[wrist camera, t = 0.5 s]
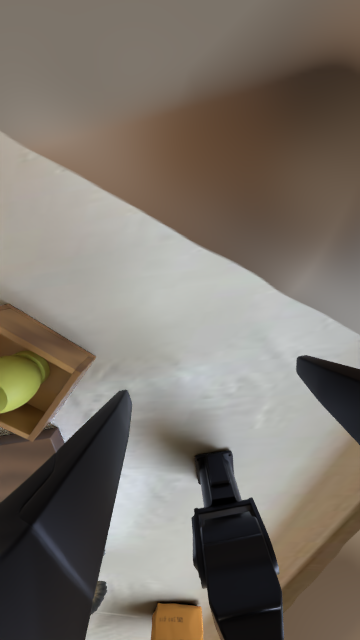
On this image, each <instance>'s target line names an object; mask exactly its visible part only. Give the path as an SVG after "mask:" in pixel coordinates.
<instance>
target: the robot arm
mask: <svg viewBox="0 0 360 640" xmlns="http://www.w3.org/2000/svg"><path fill="white" fill-rule="evenodd" d="M296 371H297V374H298V375H299V377H300V378H301V379H302V380H303V382H304V383H305V384H306V386H307V387H308V388H309V389H310V391H311V392H312V393H313V394H314V396H315V397H316V398H317V399H318V401H319V402H320V403H321V404H322V405H323V406H324V407H325V408H326V409H327V410H328V412H329V413H330V414H331V415H332V416H333V417H334V418H335V419H336V420H337V421H338V422H339V423H340V424H341V425H342V426H343V428H344V429H345V430H346V431H347V432H348V433H349V434H350V435H351V436H352V437H353V438H354V439H355V440H356V441H357V442H358V444H359V445H360V369H357V368H353V367H349V366H345V365H342V364H338V363H334V362H330V361H326V360H323V359H319V358H315V357H311V356H307V355H304V356H299V357H298V358H297V365H296ZM131 412H132V401H131V398H130V395H129V393H128V391H127V390H122V391H119V392H117V393H116V394H115V395H114V396H113V397H112V398H111V399H110V400H109V401H108V402H107V403H106V404H105V405H104V406H103V407H102V408H101V409H100V410H99V411H98V412H97V413H96V414H95V415H94V416H93V417H91V418H90V419H89V420H88V421H87V422H86V423H85V424H84V425H83V426H82V427H81V428H80V429H79V430H78V431H77V432H76V433H75V434H74V435H73V436H72V437H71V438H70V439H69V440H68V441H67V442H65V443H64V444H63V445H62V446H61V447H60V448H59V449H58V450H57V451H56V453H54V454H53V455H52V456H51V457H50V458H49V459H48V460H47V461H46V462H45V463H44V464H43V465H41V466H40V467H39V468H38V469H37V470H36V471H35V472H34V473H33V474H32V475H31V476H30V477H29V478H27V479H26V480H25V481H24V482H23V483H22V484H21V485H20V486H19V487H17V488H16V489H15V490H14V491H13V492H12V493H11V494H10V495H8V496H7V497H6V498H5V499H4V500H3V501H2V502H0V640H85V637H86V633H87V628H88V623H89V619H90V614H91V610H92V605H93V599H94V595H95V590H96V586H97V581H98V577H99V572H100V567H101V563H102V558H103V553H104V549H105V544H106V540H107V535H108V530H109V526H110V521H111V517H112V512H113V507H114V503H115V498H116V494H117V489H118V484H119V480H120V475H121V470H122V466H123V461H124V457H125V452H126V447H127V443H128V437H129V430H130V421H131ZM195 462H196V469H197V476H198V483H199V484H201V488H202V495H203V502H204V508H200V509H198V508H195V509H194V512H195V514H194V516H193V517H192V529H193V563H194V566H195V568H196V569H197V571H198V573H199V578H200V579H201V585H202V588H203V589H204V588H207V591H208V599H209V605H210V608H211V612H212V616H213V619H214V623H215V626H216V629H217V632H218V634H219V636H220V639H221V640H284V632H283V606H282V591H281V587H280V584H279V581H278V578H277V574H279V568H278V564H277V560H276V556H275V553H274V550H273V547H272V544H271V541H270V538H269V536H268V533H267V531H266V528H265V526H264V524H263V521H262V519H261V517H260V514H259V512H258V510H257V507H256V505H255V503H254V500H253V498H249V499H247V500H242V499H241V496H240V493H239V490H238V487H237V483H236V480H235V477H234V470H233V455H232V452H231V451H223V452H216V453H209V454H202V455H197V456H195Z"/></svg>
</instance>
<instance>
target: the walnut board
mask: <svg viewBox="0 0 360 640" xmlns="http://www.w3.org/2000/svg"><path fill="white" fill-rule="evenodd" d="M63 444H64V441H63V439H62V436H61V434H60V431H59V429H58V428H52V429H45V430H42V431H41V433H40V434H39V435H38V436H37V437H36V439H35V440H34V441H33V442H32V441H29V440H27V439H26V438H23V437H21V436H19V435H17V434H10V435H3V436H0V502H2V501H3V500H4V499H5V498H6V497H7V496H8V495H10V494H11V493H12V492H13V491H14V490H15V489H16V488H17V487H19V486H20V485H21V484H22V483H23V482H24V481H25V480H26V479H27V478H29V477H30V476H31V475H32V474H33V473H34V472H35V471H36V470H37V469H38V468H39V467H40V466H41V465H43V464H44V463H45V462H46V461H47V460H48V459H49V458H50V457H51V456H52V455H53V454H54V453H56V451H57V450H58V449H59V448H60V447H61V446H62V445H63Z"/></svg>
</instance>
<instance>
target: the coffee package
mask: <svg viewBox="0 0 360 640" xmlns="http://www.w3.org/2000/svg"><path fill="white" fill-rule="evenodd" d="M151 640H203V622H202V609H201V607H200V606H199V607H198V606H192V605H180V604H175V603H170V604H161V603H158V604H157V608H156V610H155V612H154V613H153V616H152V632H151Z"/></svg>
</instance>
